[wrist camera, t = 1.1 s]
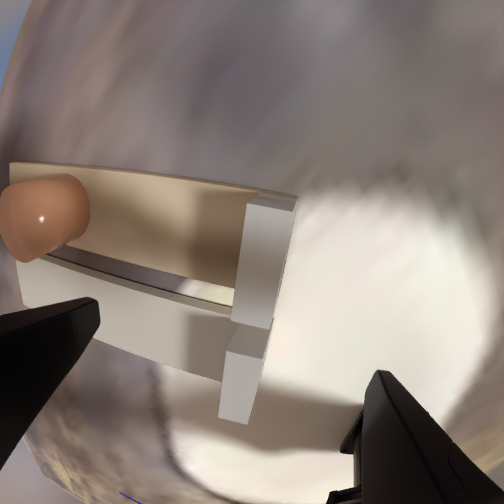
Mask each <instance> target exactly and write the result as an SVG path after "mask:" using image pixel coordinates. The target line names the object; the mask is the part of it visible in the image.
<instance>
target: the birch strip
mask: <svg viewBox="0 0 504 504" xmlns="http://www.w3.org/2000/svg"><path fill="white" fill-rule="evenodd" d="M63 173H67V174H71V175H73V176H75V177H76V178H77V179H78V180H79V181H80V182H81V183H82V185H83V186H84V188H85V190H86V192H87V195H88V198H89V203H90V220H89V224H88V227H87V229H86V231H85V233H84V234H83V235H82V236H81V237H79V238H78V239H75V240H73V241H71V242H69V243H67V244H65V245H68V246H71V247H75V248H78V249H82V250H85V251H89V252H93V253H96V254H100V255H103V256H107V257H111V258H114V259H118V260H122V261H126V262H129V263H133V264H137V265H141V266H145V267H148V268H152V269H156V270H160V271H164V272H168V273H172V274H176V275H180V276H184V277H188V278H192V279H196V280H201V281H205V282H209V283H213V284H217V285H222V286H226V287H230V288H235V292H234V299H233V306H232V313H231V321H234V322H238V323H242V324H246V325H251V326H255V327H259V328H264V329H268V330H269V329H270V325H271V322H272V318H273V314H274V311H275V307H276V303H277V299H278V296H279V292H280V287H281V283H282V278H283V273H284V268H285V263H286V258H287V253H288V248H289V243H290V238H291V233H292V227H293V222H294V217H295V211H296V206H297V201H298V196H294V195H289V194H284V193H278V192H273V191H268V190H262V189H256V188H251V187H245V186H239V185H233V184H227V183H221V182H214V181H208V180H201V179H194V178H187V177H180V176H173V175H165V174H157V173H149V172H141V171H132V170H123V169H114V168H104V167H93V166H81V165H69V164H55V163H39V162H12V163H10V185H14V184H18V183H22V182H26V181H30V180H35V179H39V178H44V177H48V176H53V175H58V174H63Z"/></svg>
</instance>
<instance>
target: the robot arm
mask: <svg viewBox="0 0 504 504" xmlns="http://www.w3.org/2000/svg"><path fill="white" fill-rule="evenodd" d="M100 322H101V319H100V310H99V303H98V301H97V300H96V299H93V298H91V297H82V298H78V299H73V300H69V301H64V302H60V303H55V304H50V305H46V306H41V307H37V308H32V309H27V310H23V311H18V312H13V313H9V314H4V315H1V316H0V470H1V469H2V467H3V465H4V464H5V462H6V461H7V459H8V458H9V456H10V455H11V453H12V452H13V450H14V449H15V447H16V445H17V443H18V442H19V441H20V439H21V438H22V436H23V435H24V433H25V432H26V431H27V429H28V428H29V426H30V425H31V423H32V422H33V420H34V419H35V418H36V416H37V415H38V413H39V412H40V411H41V409H42V408H43V406H44V405H45V404H46V402H47V401H48V400H49V398H50V397H51V395H52V394H53V393H54V391H55V390H56V389H57V387H58V386H59V385H60V383H61V382H62V381H63V379H64V378H65V377H66V375H67V374H68V373H69V371H70V370H71V369H72V368H73V366H74V365H75V364H76V362H77V361H78V360H79V358H80V357H81V355H82V354H83V352H84V350H85V349H86V347H87V345H88V344H89V342H90V341H91V339H92V338H93V336H94V334H95V333H96V331H97V330H98V328H99V326H100ZM452 442H453V440H452V439H451V438H450V437H449V436H448V435H447V434H446V433H445V431H444V430H443V429H442V428H441V427H440V426H439V425H438V424H437V423H436V421H435V420H434V419H433V418H432V417H431V416H430V415H429V412H427V411H426V410H425V409H424V408H423V407H422V406H421V405H420V404H419V403H418V402H417V400H416V399H415V398H414V397H413V396H412V395H411V394H410V393H409V392H408V391H407V390H406V388H405V387H404V386H403V385H402V384H401V383H400V382H399V381H398V380H397V379H396V378H395V377H394V375H393V374H392V373H391V372H390V371H385V370H377V371H376V372H375V373H374V375H373V377H372V379H371V381H370V383H369V385H368V387H367V389H366V392H365V400H364V409H363V411H362V412H361V414H360V416H359V417H358V419H357V421H356V423H355V424H354V426H353V428H352V429H351V431H350V432H349V434H348V436H347V437H346V439H345V441H344V442H343V444H342V445H341V447H340V452H341V453H343V454H353V458H354V487H353V488H349V489H344V490H340V491H337V490H336V491H331V492H330V493H329V497H328V500H327V502H326V504H504V491H503V490H502V489H501V488H500V487H499V486H497V485H496V484H495V483H494V482H493V481H492V480H491V479H490V478H489V477H488V476H487V475H486V474H485V473H483V472H482V471H481V470H480V469H479V468H478V467H477V466H476V465H475V464H474V463H473V462H472V461H471V460H470V459H469V458H468V457H467V456H466V455H465V454H464V453H463V451H462V450H461V449H460V448H459V447H458V446H457V445H456V444H455V443H454V442H453V443H452Z"/></svg>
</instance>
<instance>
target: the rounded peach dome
mask: <svg viewBox="0 0 504 504" xmlns="http://www.w3.org/2000/svg"><path fill="white" fill-rule="evenodd" d="M89 220H90V203H89V198H88V195H87V192H86V190H85V188H84V186H83V185H82V183H81V182H80V181H79V180H78V179H77V178H76V177H75V176H73V175H71V174H67V173H63V174H58V175H53V176H48V177H44V178H39V179H35V180H30V181H26V182H22V183H18V184H14V185H10V186H8V187H6V188H5V189H4V191H3V192H2V194H1V196H0V234H1V237H2V239H3V242H4V244H5V246H6V248H7V249H8V251H9V252H10V254H11V255H12V256H13V257H14V258H15V259H17V260H18V261H20V262H23V263H28V262H31V261H33V260H35V259H37V258H39V257H41V256H42V255H44V254H46V253H49V252H51V251H53V250H55V249H57V248H59V247H61V246H63V245H65V244H67V243H69V242H71V241H73V240H75V239H78V238H79V237H81V236H82V235H83V234H84V233H85V231H86V229H87V227H88V224H89Z"/></svg>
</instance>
